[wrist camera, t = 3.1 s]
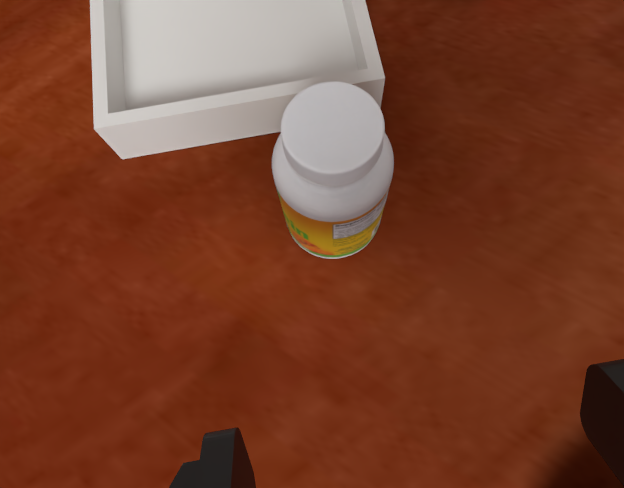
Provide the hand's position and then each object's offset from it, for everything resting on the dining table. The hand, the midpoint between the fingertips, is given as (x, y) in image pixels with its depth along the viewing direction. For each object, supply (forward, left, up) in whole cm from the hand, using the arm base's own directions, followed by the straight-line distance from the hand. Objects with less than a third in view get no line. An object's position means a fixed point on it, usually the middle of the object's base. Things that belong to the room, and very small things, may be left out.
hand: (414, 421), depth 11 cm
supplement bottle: (0, -10, -14) cm, 17 cm away
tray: (+4, -24, -14) cm, 28 cm away
